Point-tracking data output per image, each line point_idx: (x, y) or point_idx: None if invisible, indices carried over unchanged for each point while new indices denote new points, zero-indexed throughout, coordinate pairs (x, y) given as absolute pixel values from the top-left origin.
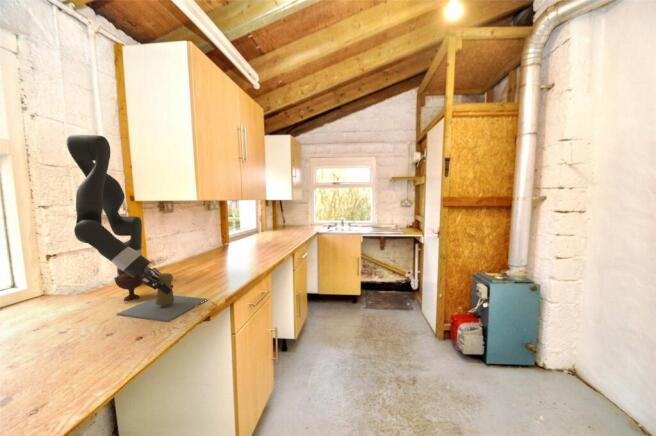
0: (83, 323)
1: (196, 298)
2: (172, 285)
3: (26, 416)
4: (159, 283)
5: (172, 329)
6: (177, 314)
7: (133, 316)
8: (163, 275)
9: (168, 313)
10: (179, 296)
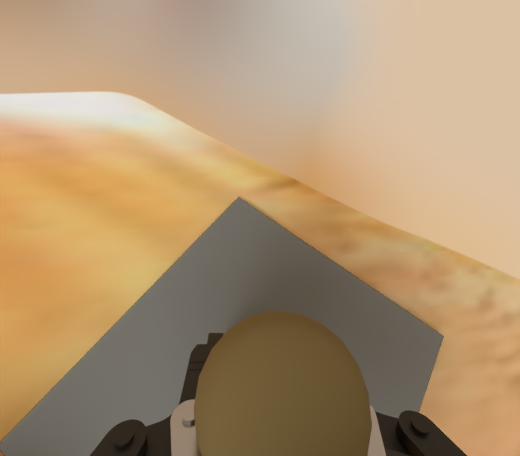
0: None
1: (211, 239)
2: (217, 336)
3: None
4: (431, 430)
5: (500, 310)
6: (388, 304)
7: None
8: (349, 412)
9: (369, 346)
10: (128, 323)
